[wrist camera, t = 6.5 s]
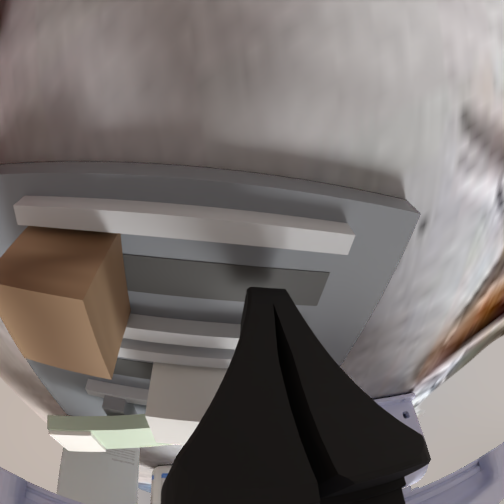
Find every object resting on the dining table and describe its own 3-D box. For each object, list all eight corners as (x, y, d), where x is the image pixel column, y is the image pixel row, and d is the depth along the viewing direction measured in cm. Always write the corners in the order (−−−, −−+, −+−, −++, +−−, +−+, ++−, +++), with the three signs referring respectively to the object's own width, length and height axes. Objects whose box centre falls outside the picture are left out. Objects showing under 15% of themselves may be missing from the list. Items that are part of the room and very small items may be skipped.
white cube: (235, 360, 14) (237, 423, 11) (227, 396, 16) (228, 448, 13) (155, 353, 13) (145, 415, 11) (161, 390, 16) (155, 442, 13)
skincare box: (75, 429, 25) (60, 535, 13) (68, 413, 22) (48, 538, 10) (141, 448, 27) (135, 555, 15) (145, 435, 24) (138, 562, 12)
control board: (406, 199, 11) (443, 237, 9) (285, 427, 23) (288, 455, 21) (-33, 167, 8) (-71, 195, 6) (70, 403, 20) (63, 430, 18)
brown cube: (119, 229, 9) (83, 300, 7) (131, 310, 12) (111, 379, 9) (31, 222, 9) (-18, 280, 6) (53, 298, 11) (24, 357, 8)
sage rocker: (181, 410, 16) (185, 428, 15) (183, 430, 18) (187, 446, 17) (47, 415, 13) (47, 433, 12) (68, 436, 15) (69, 451, 14)
